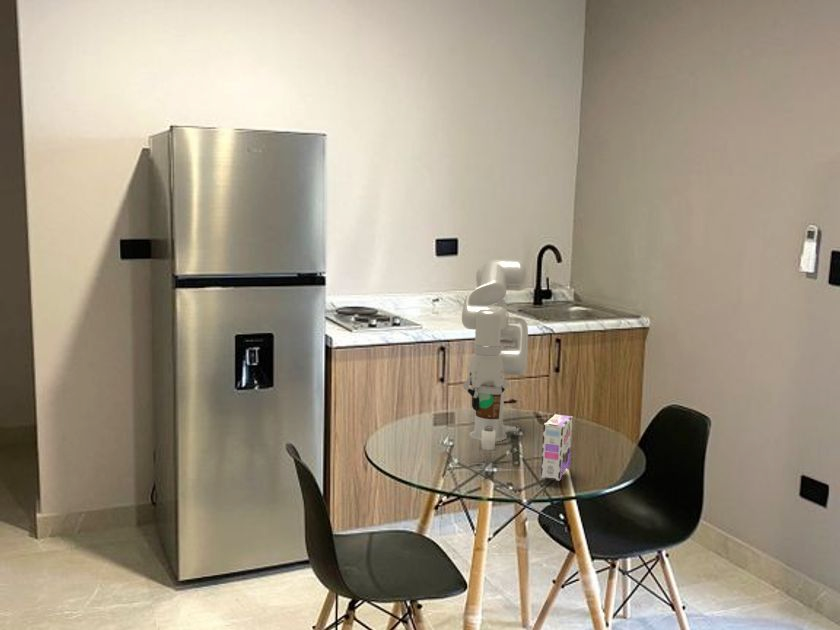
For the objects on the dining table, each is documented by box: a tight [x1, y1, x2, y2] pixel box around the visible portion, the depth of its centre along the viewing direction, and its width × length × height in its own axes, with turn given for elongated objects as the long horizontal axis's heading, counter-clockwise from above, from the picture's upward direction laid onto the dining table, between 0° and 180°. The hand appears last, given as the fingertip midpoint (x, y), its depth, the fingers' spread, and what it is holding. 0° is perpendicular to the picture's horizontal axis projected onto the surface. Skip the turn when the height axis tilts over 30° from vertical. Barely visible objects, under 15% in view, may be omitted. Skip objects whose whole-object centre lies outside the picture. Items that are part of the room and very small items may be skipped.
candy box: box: [540, 414, 573, 482], centre depth 253 cm, size 14×6×16 cm, turn 157°
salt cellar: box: [480, 426, 496, 451], centre depth 278 cm, size 4×4×7 cm
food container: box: [472, 386, 502, 419], centre depth 258 cm, size 12×6×10 cm, turn 22°
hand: (484, 408), depth 259 cm, fingers closed on food container, 5 cm apart
